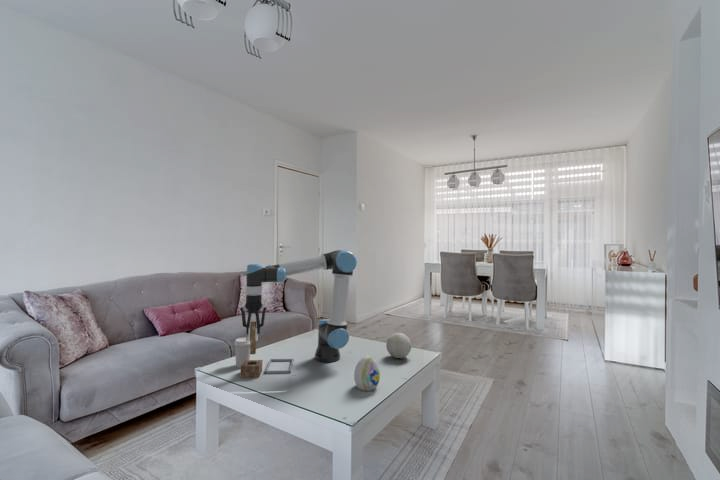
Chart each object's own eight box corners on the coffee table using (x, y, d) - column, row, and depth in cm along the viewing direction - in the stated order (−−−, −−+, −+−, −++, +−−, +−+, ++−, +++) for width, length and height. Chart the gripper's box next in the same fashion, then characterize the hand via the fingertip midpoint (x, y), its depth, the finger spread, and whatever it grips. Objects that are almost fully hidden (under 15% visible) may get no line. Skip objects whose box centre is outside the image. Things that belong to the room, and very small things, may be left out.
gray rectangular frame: (293, 362, 197) (293, 358, 197) (290, 374, 178) (290, 370, 178) (270, 362, 196) (270, 358, 196) (264, 375, 177) (264, 371, 177)
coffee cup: (245, 371, 182) (246, 342, 182) (229, 369, 184) (230, 341, 184) (254, 365, 191) (255, 337, 191) (239, 363, 193) (240, 336, 193)
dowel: (256, 352, 177) (256, 321, 177) (255, 354, 175) (255, 322, 175) (250, 352, 177) (251, 321, 177) (249, 354, 174) (250, 322, 174)
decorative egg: (368, 395, 156) (369, 362, 156) (348, 387, 164) (349, 356, 164) (384, 387, 166) (385, 356, 166) (365, 380, 174) (365, 350, 174)
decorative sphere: (385, 361, 203) (386, 335, 203) (386, 353, 218) (387, 329, 218) (411, 362, 201) (411, 337, 201) (410, 354, 216) (411, 330, 216)
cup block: (262, 372, 180) (262, 359, 181) (259, 379, 172) (259, 366, 172) (244, 372, 179) (244, 360, 180) (240, 379, 171) (240, 366, 171)
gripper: (270, 293, 181) (270, 338, 180) (239, 293, 179) (238, 338, 179) (268, 295, 173) (267, 342, 173) (236, 295, 171) (235, 342, 171)
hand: (253, 340), depth 176 cm, fingers closed on dowel, 3 cm apart
